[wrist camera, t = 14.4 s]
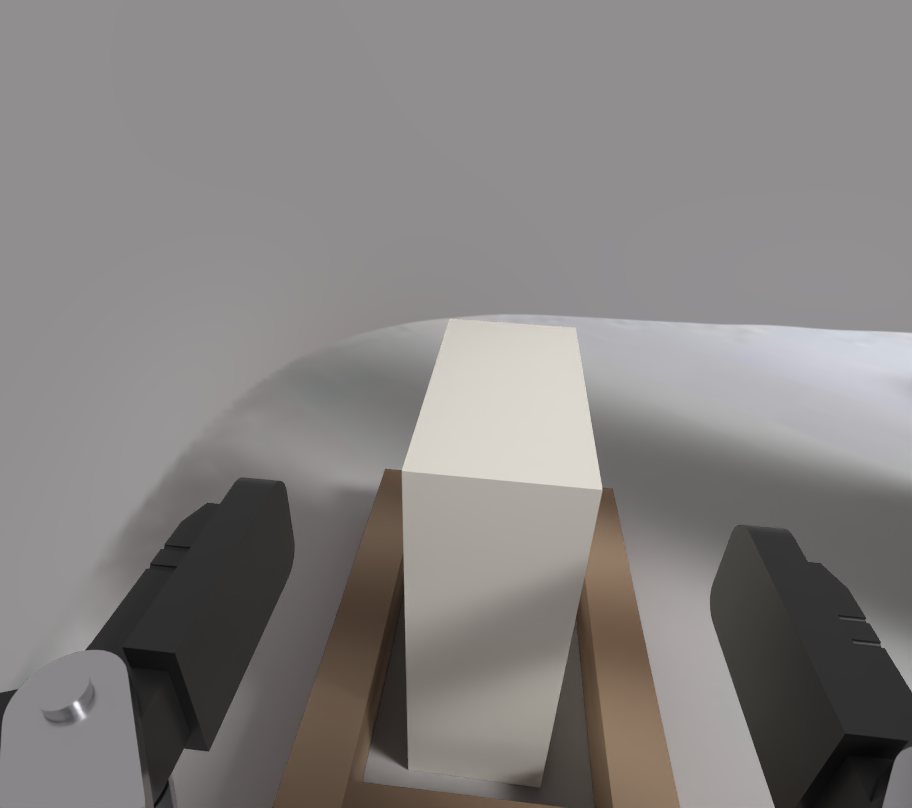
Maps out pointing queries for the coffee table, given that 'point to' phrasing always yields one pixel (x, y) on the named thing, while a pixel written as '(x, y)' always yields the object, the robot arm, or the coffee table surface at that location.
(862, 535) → the coffee table surface
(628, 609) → the frame
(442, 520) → the key block
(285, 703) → the coffee table surface
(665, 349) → the coffee table surface
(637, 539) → the coffee table surface
